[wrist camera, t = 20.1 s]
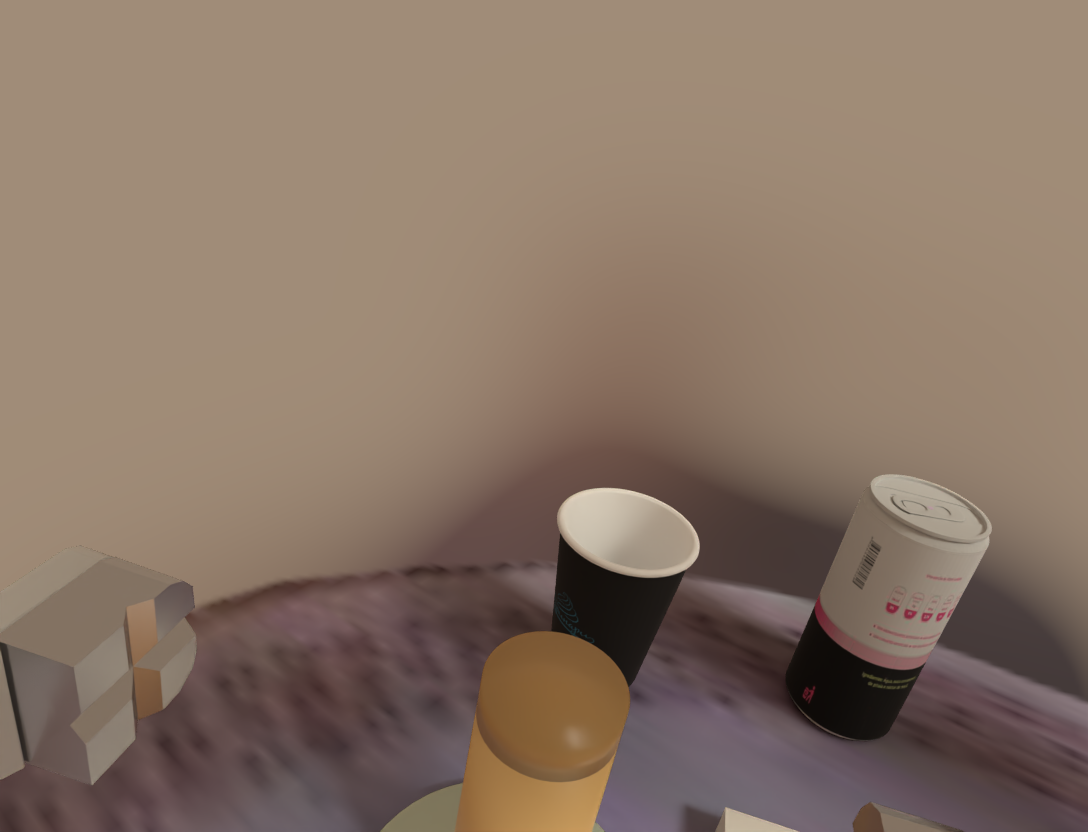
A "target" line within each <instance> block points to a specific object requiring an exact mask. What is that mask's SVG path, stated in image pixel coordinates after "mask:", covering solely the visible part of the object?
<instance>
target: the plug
mask: <svg viewBox="0 0 1088 832" xmlns="http://www.w3.org/2000/svg"><path fill="white" fill-rule="evenodd" d="M629 708H630V693H629V688H628V685H627V682H626V680H625V677H624V676H623V674H622V672H621V670H620V669H619V668H618V666H617V665H616V664H615V663H614V661H613V660H612V659H611V658H610V657H609V656H607V655H606V654H605V653H604V652H603V651H601V650H600V649H599V648H597V647H596V646H594V645H592V644H591V643H589V642H587V641H585V640H582V639H580V638H577V637H575V636H572V635H568V634H564V633H559V632H550V631H536V632H528V633H524V634H520V635H517V636H514V637H512V638H510V639H508V640H506V641H504V642H503V643H501V644H500V645H499V646H498V647H497V648H495V649H494V650H493V652H492V653H491V654H490V655H489V657H488V659H487V661H486V663H485V665H484V668H483V673H482V679H481V684H480V690H479V695H478V701H477V707H476V712H475V718H474V724H473V729H472V735H471V741H470V746H469V752H468V758H467V763H466V769H465V775H464V780H463V786H462V792H461V797H460V803H459V808H458V814H457V820H456V825H455V831H454V832H592V830H593V827H594V823H595V820H596V817H597V813H598V810H599V807H600V804H601V800H602V797H603V794H604V791H605V787H606V784H607V781H608V778H609V774H610V771H611V768H612V764H613V761H614V758H615V755H616V751H617V748H618V745H619V742H620V738H621V735H622V732H623V728H624V725H625V722H626V719H627V715H628V712H629Z"/></svg>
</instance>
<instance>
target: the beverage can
mask: <svg viewBox="0 0 1088 832" xmlns="http://www.w3.org/2000/svg"><path fill="white" fill-rule="evenodd" d="M991 530H992V526H991V523H990V521H989V519H988V518H987V517H986V515H985V514H984V513H983V512H982V511H981V510H980V509H979V508H977V507H976V506H975V505H974V504H972V503H971V502H970V501H968V500H967V499H965V498H963V497H962V496H960V495H958V494H956V493H954V492H953V491H950V490H948V489H946V488H944V487H942V486H939V485H937V484H934V483H932V482H929V481H926V480H922V479H919V478H914V477H909V476H904V475H895V474H889V475H881V476H878V477H876V478H874V479H873V480H872V482H871V484H870V486H869V487H867V488H866V489H865V490H864V492H863V494H862V496H861V498H860V501H859V503H858V505H857V508H856V510H855V513H854V515H853V517H852V520H851V522H850V524H849V527H848V529H847V531H846V534H845V536H844V538H843V541H842V543H841V546H840V548H839V550H838V552H837V555H836V557H835V559H834V562H833V564H832V567H831V569H830V571H829V574H828V576H827V578H826V581H825V583H824V586H823V588H822V590H821V592H820V595H819V597H818V599H817V602H816V604H815V606H814V609H813V611H812V613H811V616H810V618H809V620H808V623H807V625H806V627H805V630H804V632H803V634H802V637H801V639H800V641H799V644H798V646H797V648H796V651H795V653H794V656H793V658H792V660H791V663H790V665H789V667H788V670H787V672H786V685H787V689H788V691H789V694H790V696H791V697H792V699H793V701H794V702H795V704H796V705H797V706H798V708H799V709H800V710H801V712H802V713H803V714H804V715H805V716H806V717H807V718H808V719H809V720H811V721H812V722H813V723H814V724H816V725H817V726H819V727H820V728H822V729H824V730H825V731H827V732H829V733H831V734H834V735H836V736H839V737H842V738H846V739H851V740H861V741H868V740H875V739H878V738H881V737H882V736H884V735H885V734H886V733H887V732H888V731H889V730H890V728H891V726H892V724H893V722H894V721H895V719H896V717H897V715H898V713H899V711H900V709H901V708H902V706H903V704H904V702H905V700H906V698H907V696H908V695H909V693H910V691H911V689H912V687H913V685H914V683H915V681H916V680H917V678H918V676H919V674H920V672H921V670H922V668H923V667H924V665H925V663H926V661H927V659H928V657H929V655H930V653H931V652H932V650H933V648H934V646H935V644H936V642H937V640H938V638H939V637H940V635H941V633H942V631H943V629H944V627H945V625H946V624H947V622H948V620H949V618H950V616H951V614H952V612H953V611H954V609H955V607H956V605H957V603H958V601H959V599H960V597H961V596H962V594H963V592H964V590H965V588H966V586H967V584H968V582H969V581H970V579H971V577H972V575H973V573H974V571H975V569H976V567H977V566H978V564H979V562H980V560H981V558H982V556H983V555H984V553H985V551H986V549H987V547H988V545H989V535H990V533H991Z"/></svg>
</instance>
